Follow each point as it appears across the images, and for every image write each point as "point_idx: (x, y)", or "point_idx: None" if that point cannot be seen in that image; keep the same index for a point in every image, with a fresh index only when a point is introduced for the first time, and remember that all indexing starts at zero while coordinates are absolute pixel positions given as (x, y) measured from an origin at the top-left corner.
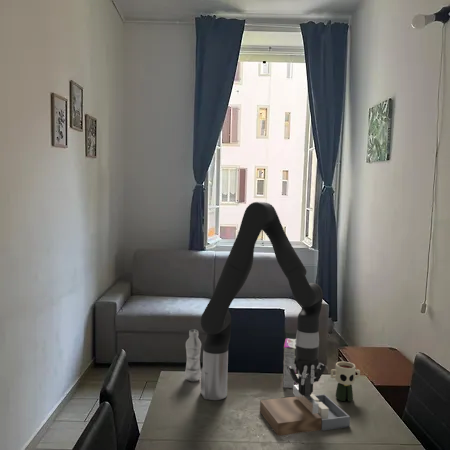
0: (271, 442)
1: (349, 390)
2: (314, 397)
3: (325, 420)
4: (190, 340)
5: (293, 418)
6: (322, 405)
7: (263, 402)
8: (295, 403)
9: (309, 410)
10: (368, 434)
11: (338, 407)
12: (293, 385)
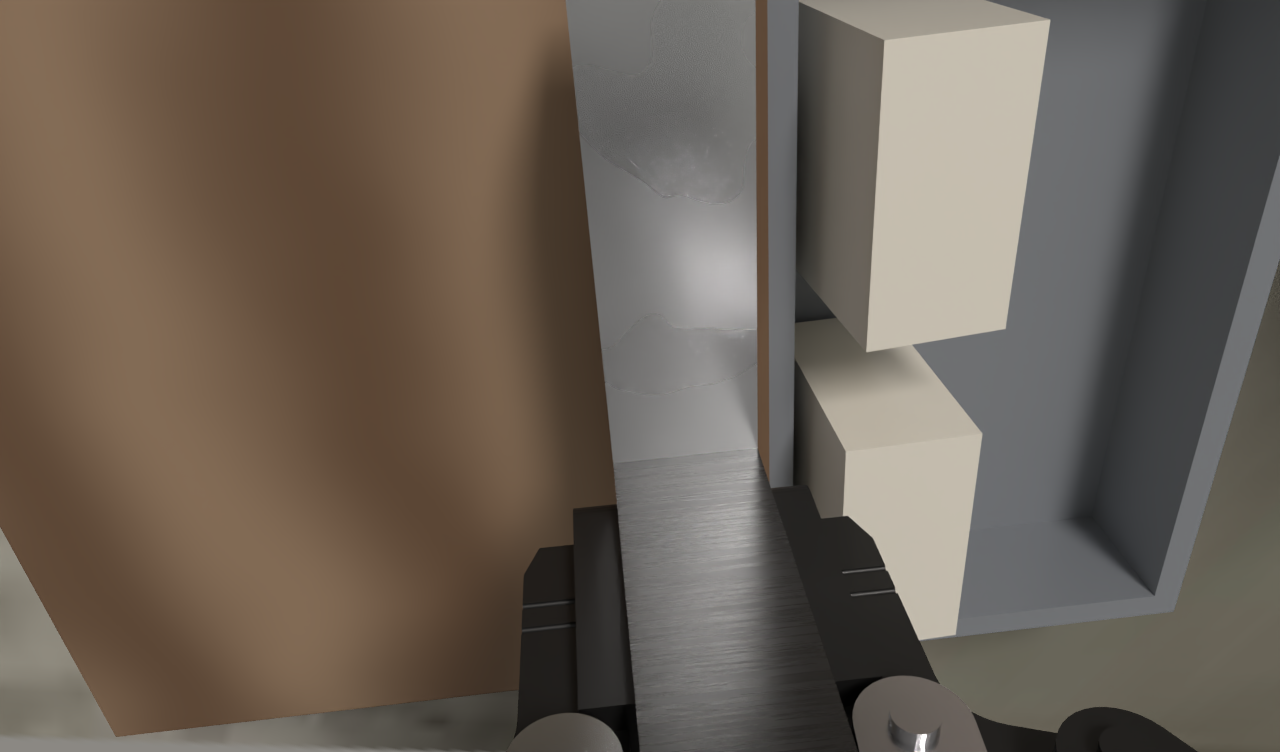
0: (91, 700)
1: None
2: (967, 243)
3: None
4: None
5: (361, 650)
6: (917, 556)
7: None
8: (534, 225)
9: None
10: (1177, 643)
11: (1221, 384)
12: (567, 2)
